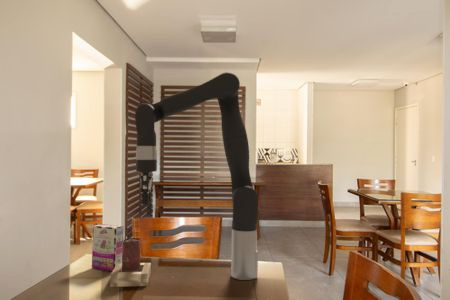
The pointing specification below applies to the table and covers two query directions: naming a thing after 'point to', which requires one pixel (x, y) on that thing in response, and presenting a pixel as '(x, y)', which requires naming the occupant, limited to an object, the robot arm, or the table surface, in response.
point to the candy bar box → (107, 246)
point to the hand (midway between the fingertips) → (146, 202)
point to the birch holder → (130, 276)
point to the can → (131, 255)
